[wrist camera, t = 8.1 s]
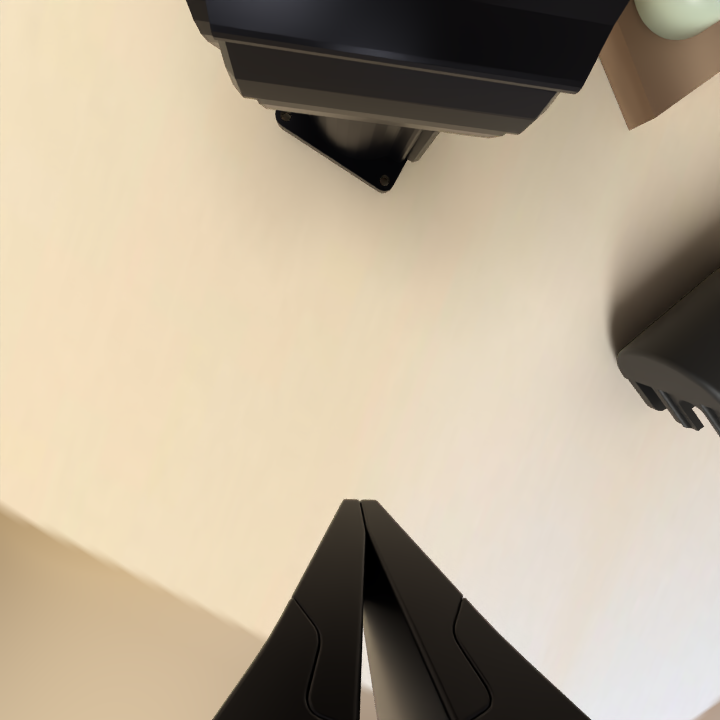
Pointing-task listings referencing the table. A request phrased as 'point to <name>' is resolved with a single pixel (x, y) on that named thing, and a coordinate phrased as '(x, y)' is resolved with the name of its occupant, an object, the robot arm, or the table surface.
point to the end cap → (680, 358)
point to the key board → (655, 66)
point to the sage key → (678, 16)
